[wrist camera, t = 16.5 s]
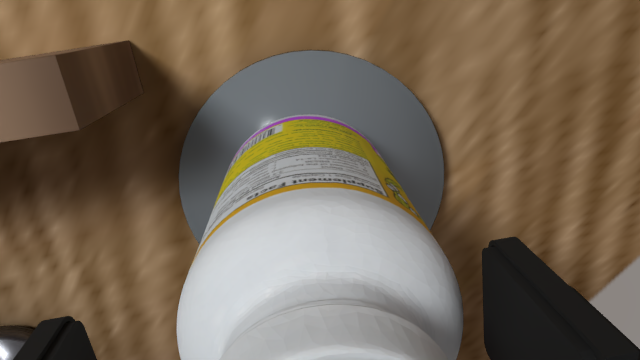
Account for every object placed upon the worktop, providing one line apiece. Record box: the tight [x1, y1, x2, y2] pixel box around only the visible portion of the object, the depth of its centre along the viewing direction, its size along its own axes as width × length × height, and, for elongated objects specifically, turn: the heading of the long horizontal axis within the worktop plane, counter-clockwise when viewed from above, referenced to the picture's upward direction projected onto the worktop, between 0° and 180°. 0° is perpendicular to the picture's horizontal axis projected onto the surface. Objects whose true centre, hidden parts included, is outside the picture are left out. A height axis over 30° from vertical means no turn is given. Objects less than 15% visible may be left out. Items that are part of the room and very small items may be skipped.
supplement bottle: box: [177, 114, 463, 360], centre depth 14 cm, size 7×7×13 cm
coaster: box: [179, 50, 444, 244], centre depth 20 cm, size 11×11×1 cm
